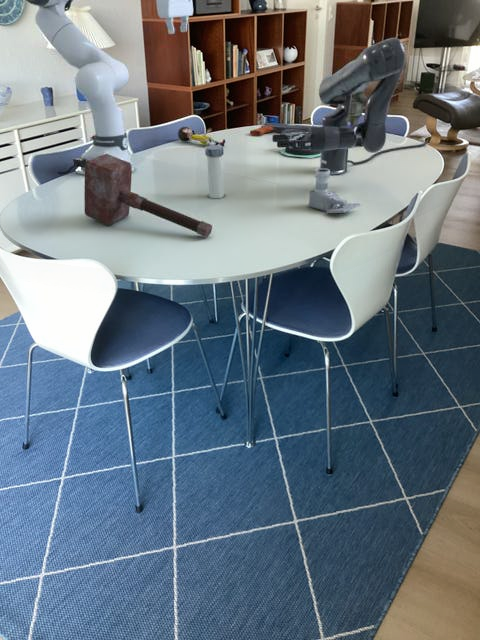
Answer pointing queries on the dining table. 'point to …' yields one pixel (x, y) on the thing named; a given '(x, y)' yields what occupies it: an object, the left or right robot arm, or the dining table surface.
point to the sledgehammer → (124, 196)
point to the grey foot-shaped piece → (327, 195)
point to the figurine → (197, 137)
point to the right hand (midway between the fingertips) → (274, 141)
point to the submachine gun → (276, 128)
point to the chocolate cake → (300, 152)
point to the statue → (356, 107)
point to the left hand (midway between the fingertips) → (177, 32)
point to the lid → (214, 151)
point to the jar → (215, 177)
